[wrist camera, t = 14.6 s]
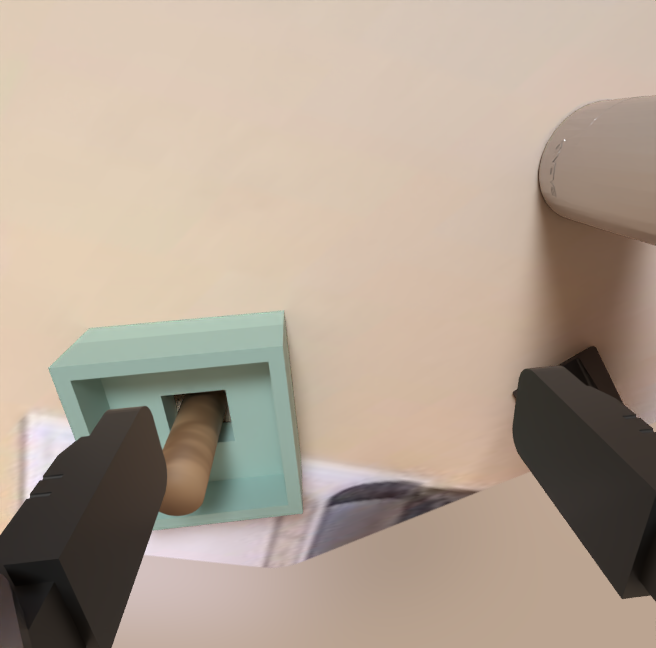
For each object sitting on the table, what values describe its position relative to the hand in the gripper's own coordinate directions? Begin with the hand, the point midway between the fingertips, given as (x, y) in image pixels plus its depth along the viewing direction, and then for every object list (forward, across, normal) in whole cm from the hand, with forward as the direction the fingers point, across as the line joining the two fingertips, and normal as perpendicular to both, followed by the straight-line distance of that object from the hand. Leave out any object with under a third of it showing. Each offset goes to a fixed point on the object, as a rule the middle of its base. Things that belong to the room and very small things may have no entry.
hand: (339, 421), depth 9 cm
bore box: (+28, +11, +17) cm, 35 cm away
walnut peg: (+28, +11, +17) cm, 35 cm away
